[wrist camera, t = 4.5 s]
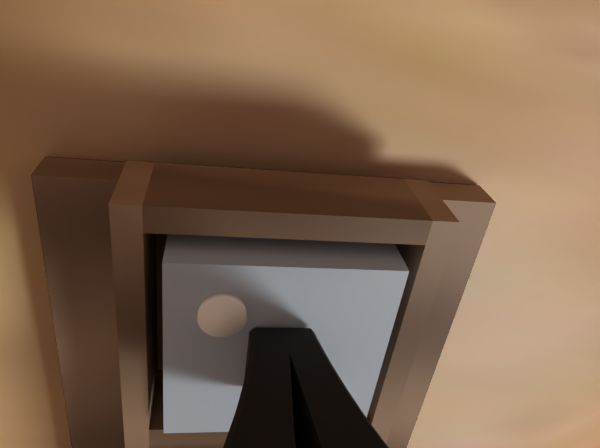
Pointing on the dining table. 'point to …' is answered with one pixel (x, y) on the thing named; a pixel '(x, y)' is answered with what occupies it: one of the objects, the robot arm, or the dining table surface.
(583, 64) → the dining table surface
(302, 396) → the robot arm
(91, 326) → the brown tile tray
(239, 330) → the three pip tile
